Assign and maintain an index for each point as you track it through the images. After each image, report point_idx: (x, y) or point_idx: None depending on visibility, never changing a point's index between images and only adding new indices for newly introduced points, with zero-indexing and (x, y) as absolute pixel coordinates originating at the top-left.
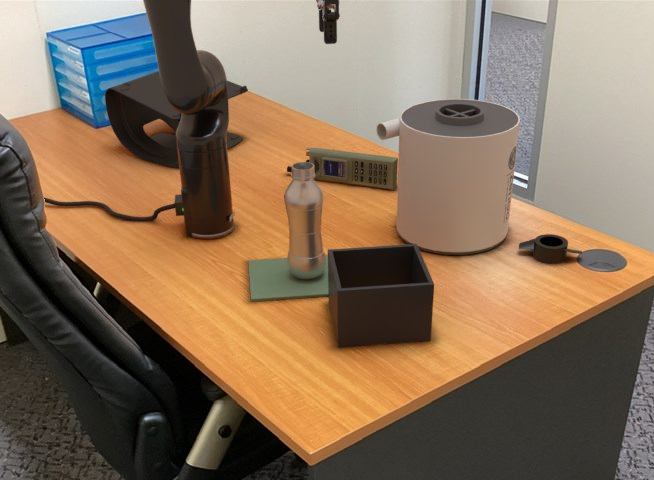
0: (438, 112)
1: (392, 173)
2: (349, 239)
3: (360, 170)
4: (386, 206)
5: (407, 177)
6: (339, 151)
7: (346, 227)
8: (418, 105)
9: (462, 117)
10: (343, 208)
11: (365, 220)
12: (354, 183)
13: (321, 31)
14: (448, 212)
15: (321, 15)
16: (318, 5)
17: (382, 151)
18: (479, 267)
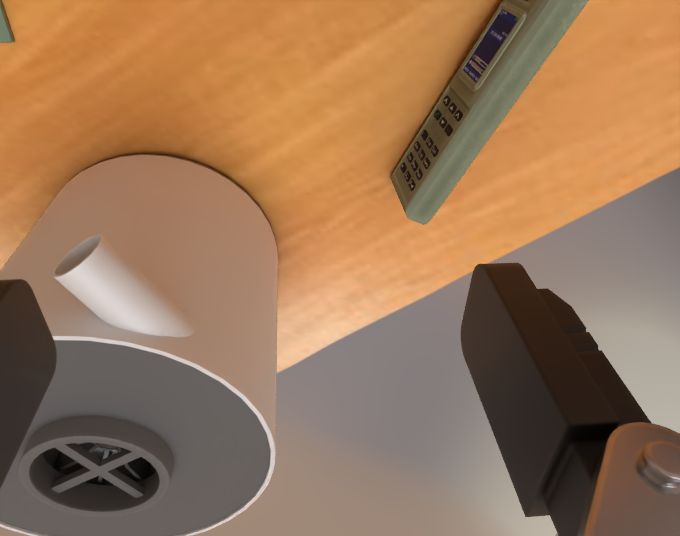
0: (68, 439)
1: (398, 194)
2: (111, 30)
3: (446, 119)
4: (304, 149)
5: (38, 247)
6: (521, 78)
7: (185, 32)
8: (227, 389)
9: (26, 479)
10: (306, 40)
11: (227, 88)
12: (444, 91)
13: (473, 272)
14: None
15: (533, 393)
16: (599, 491)
17: (627, 185)
18: None
